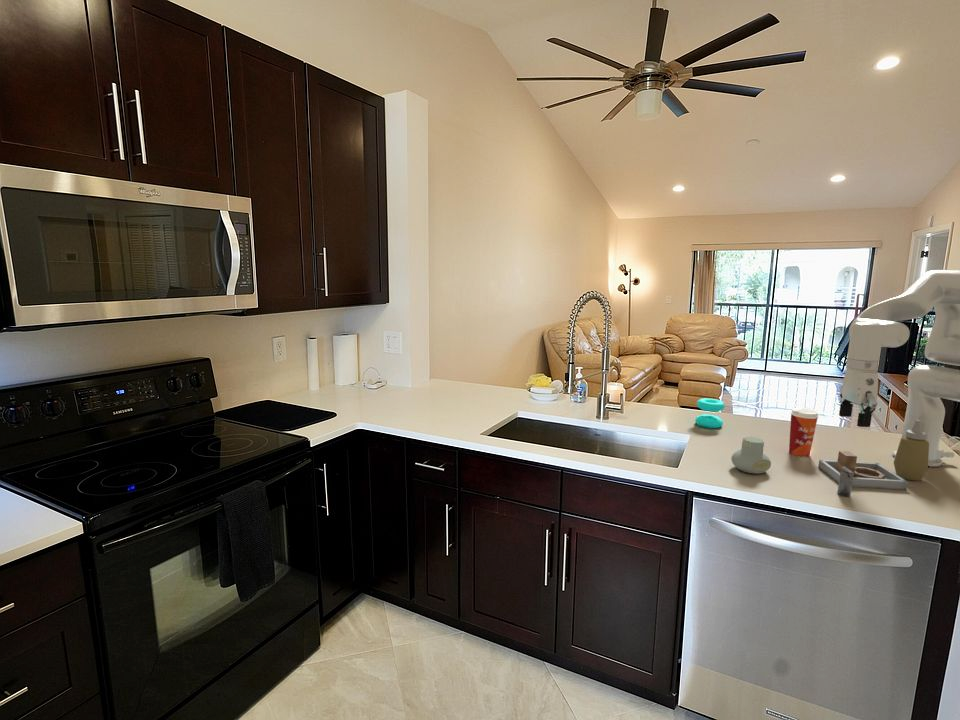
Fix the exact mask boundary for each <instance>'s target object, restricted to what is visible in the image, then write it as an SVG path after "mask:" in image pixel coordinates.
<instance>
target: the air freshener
mask: <svg viewBox="0 0 960 720" xmlns="http://www.w3.org/2000/svg"><path fill="white" fill-rule="evenodd" d="M764 446H765V441H764V439H761V438H759V437H753V436H745V437H743V438H742V443H741V449H739V450H737V451H735V452H734V453H732V455H731V463H732V464H733V465H734V467H735V468H737V470H740V471H742V472H744V473H748V474H751V473H752V474H753V475H758V474H762V473H765V472H767V471H768V470H769V469H770V468H771V466H772V461H771V459H770V458H769V457H768V456H767V455H766V454H765V453H764V448H765V447H764Z"/></svg>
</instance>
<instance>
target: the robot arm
mask: <svg viewBox="0 0 960 720" xmlns="http://www.w3.org/2000/svg"><path fill="white" fill-rule="evenodd" d="M933 308H934V311H935V312H934V313H935V320H934V323H933V324H932V328H931V330H930V334H929V336H928V339H927V341H926V344H925V348H924V357H925V358H926V359H928V361H931V362H935V363H940V364H945V365H952V366H957V367H958V366H959V367H960V269H958V270H957V269H933V270H929V271H926V272H924V273H923V274H921V275H920V277H918V278H917V279H916V280H915V281H914V282H913V283H912V284H910V286H909V287H908V288H906V289H905V290H904V291H903V292H902V293H901V294H900V295H898V296H896V297H895V296H894V297H893V298H892V297H891V298H889V299H886V300H884V301H881V302H877V303H876V304H873V305H871V306H869V307H867V308H866V309H864V310H863V311H861V313H859V315H857V317H856V318H855V319H854V320H853V321H852V322H851V324H850V326H849V329H848V335H849V342H848V350H847V358H846V362H845V363H846V364H845V369H846V370H845V373H844V376H843V382H842V386H840V387H839V392H840V394H839V397H840V400H839V403H840V405H839V413H838V416H839V417H841V418H842V417H846V418H850V417H852V414H853V408H854V405H856V406H858V408H859V412H858V417H857V423H856V426H857V427H858V428H870V427H871V423H872V418H873V417H872V416H873V415H874V412H875V411H876V408H877V406H878V392H879V374H878V370H879V364H880V360H881V359H880V358H881V357H880V356H881V353H882V352H881V351H882V348H899V347H901V346H904V345H905V344H906V343H907V341H908V340H909V338H910V335H911V333H910V329H909V327H908V326H907V325H906V324H904V323H902V322H901V321H907V320H908V321H909V320H915V319H918V318H922V317H924V316H926V315H927V314H928V313H930V312H931V311H932V310H933ZM907 390H908V391H907V392H908V393H907V396H908V397H907V404H906V410H905V415H904V421H903V422H904V423H903V428H902V432H901V433H902V434H901V438H902V437H904V436H906V431H907V430H911V429H912V427H913V425H914V423H915V421H916V420H920V421H921V426H922V432H924V433H926V439H925V440H927V441H928V442H929V456H928V466H929V467H930V468H932V467H937V468H938V467H941V466H942V465H943V460H942V458H950V459H951V458H954V457H955V453H954V452H953V451H945V450H944V449H940V448H939V447H940V442H941V437H942V431H943V426H944V425H943V424H944V421H945V416H946V408H945V406H944V403H943V400H942V399H945V400H950V401H955V402H959V403H960V369H957V368H956V369H955V368H950V367H944V366H937V365H932V364H931V365H930V364H922V365H921V364H920V365H916V366H915V367H913V368H912V369H910V371H909V373H908V375H907ZM897 450H898V449H895V450H893V451H892V456H893V457H894V458H895V456H896V453H897ZM929 467H928V468H929Z"/></svg>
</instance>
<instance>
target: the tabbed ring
mask: <svg viewBox="0 0 960 720" xmlns="http://www.w3.org/2000/svg"><path fill="white" fill-rule="evenodd" d="M837 456H838V457H837V460H836V461H837V468H836V470H837V471H838V472H839V473H840V472H841V471H842V470H841V466H842V467H846V468H848V469H849V470H851V471H852V472H853V473H854V476H853V477H858V478H874V479H885V475H884V474H882V473H881V472H879V471H877V470H873V469H870V468H866V467H856V462H858V461H857V460H858V456H857V455H856V454H854V453H853V452H852V451H844V450H839V451H838V455H837ZM860 473H866V474H870V475H874V476H867V475H863V474H860Z"/></svg>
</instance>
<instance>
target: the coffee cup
mask: <svg viewBox="0 0 960 720" xmlns="http://www.w3.org/2000/svg"><path fill="white" fill-rule="evenodd" d="M789 414H790V426H789V427H790V428H789V445H788V446H789V447H788V451H789V453H790V454H791V453H792V454H791V455H793V454H794V456H797V455H798V456H797V457H803V456H806V457H809V456H810V455H811V454H810V453H811V450H812V447H813V441H814V438H815V437H814V436H815V432H816V428H817V424H818V423H817V422H818V419H819V417H820V416H819V413H818V412H817V410H814V409H809V408H805V407H804V408H803V407H793V408H792V410H791V411H790V413H789Z"/></svg>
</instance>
